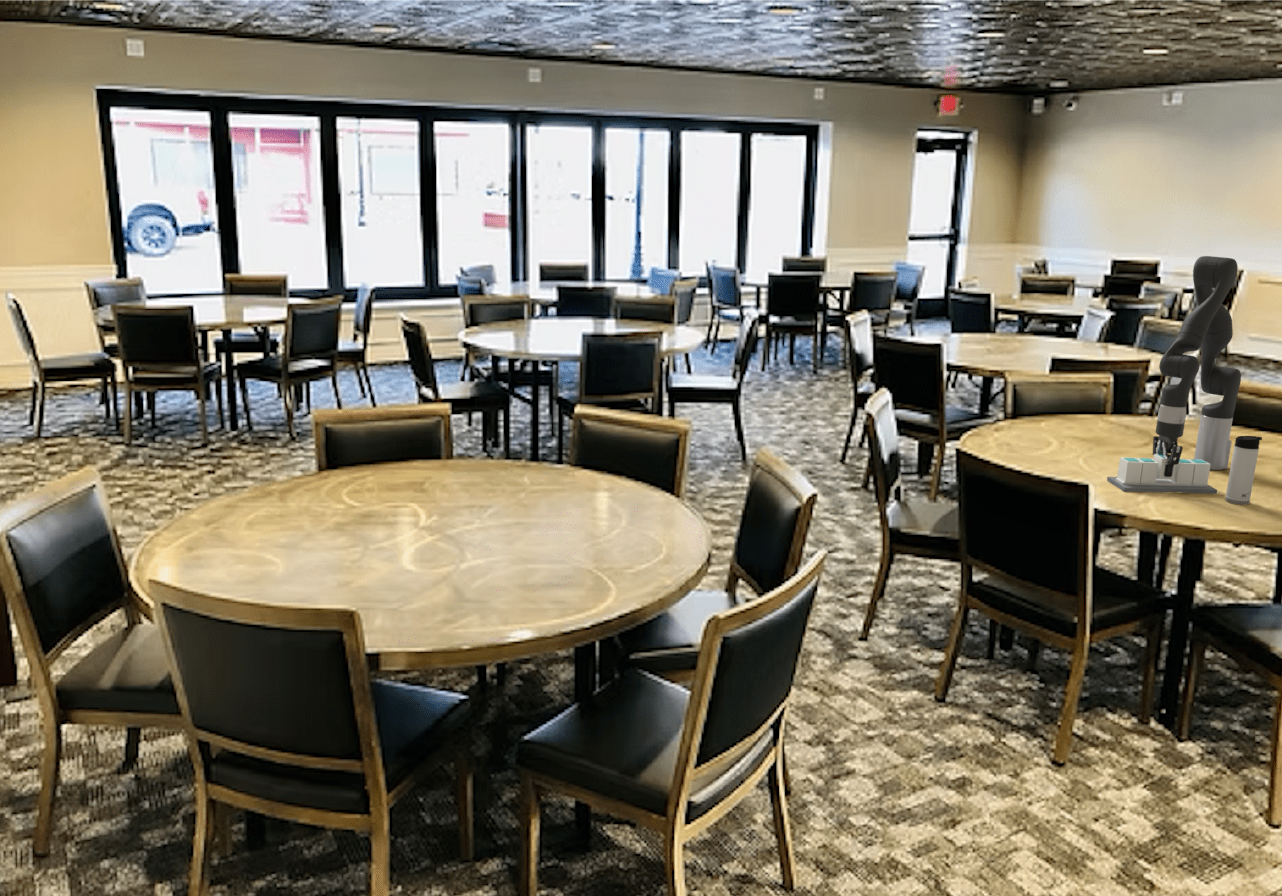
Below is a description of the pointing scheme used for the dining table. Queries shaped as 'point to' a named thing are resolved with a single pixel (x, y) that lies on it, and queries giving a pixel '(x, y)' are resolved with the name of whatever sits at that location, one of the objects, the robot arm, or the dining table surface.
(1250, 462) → the travel mug
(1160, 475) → the block
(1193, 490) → the rail panel
